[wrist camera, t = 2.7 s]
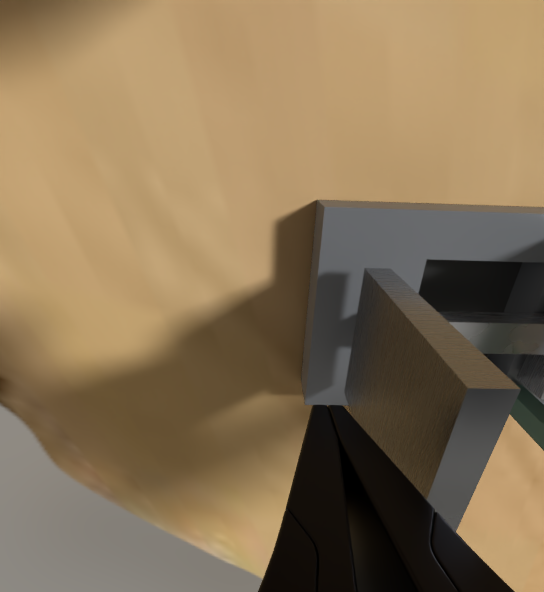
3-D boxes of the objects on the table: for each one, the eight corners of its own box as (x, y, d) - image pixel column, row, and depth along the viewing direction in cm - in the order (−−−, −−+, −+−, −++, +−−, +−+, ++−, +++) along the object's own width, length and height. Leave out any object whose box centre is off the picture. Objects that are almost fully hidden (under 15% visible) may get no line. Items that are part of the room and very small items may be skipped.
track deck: (807, 216, 15) (883, 224, 13) (684, 385, 19) (729, 410, 17) (317, 199, 14) (324, 206, 12) (300, 379, 18) (304, 404, 16)
